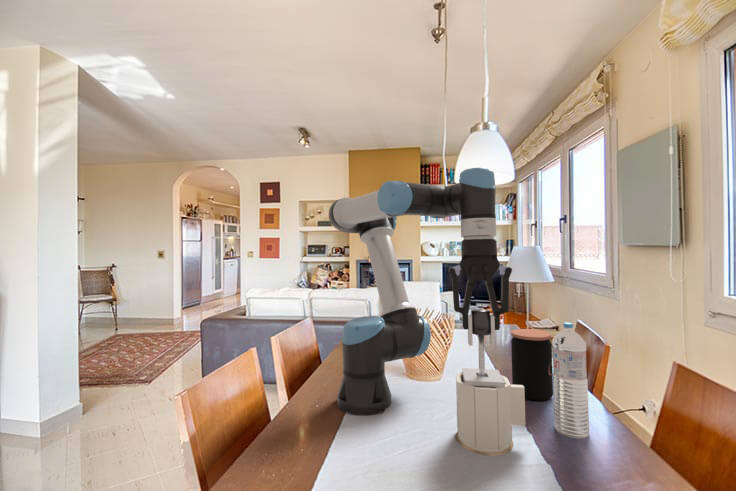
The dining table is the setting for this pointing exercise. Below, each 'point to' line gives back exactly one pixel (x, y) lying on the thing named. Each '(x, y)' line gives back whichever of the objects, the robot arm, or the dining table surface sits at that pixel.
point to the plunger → (481, 334)
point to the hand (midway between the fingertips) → (481, 344)
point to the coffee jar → (532, 363)
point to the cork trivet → (483, 453)
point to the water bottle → (570, 384)
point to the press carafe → (487, 410)
